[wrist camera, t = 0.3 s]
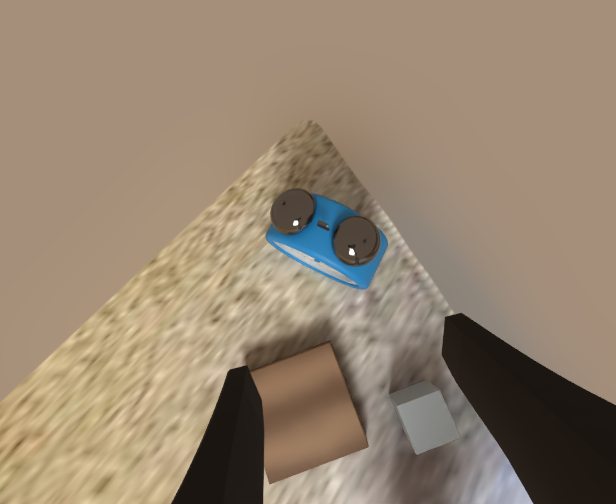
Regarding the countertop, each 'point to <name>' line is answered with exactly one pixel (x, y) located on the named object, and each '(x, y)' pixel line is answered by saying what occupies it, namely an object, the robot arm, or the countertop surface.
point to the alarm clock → (326, 237)
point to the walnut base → (306, 412)
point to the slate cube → (424, 416)
